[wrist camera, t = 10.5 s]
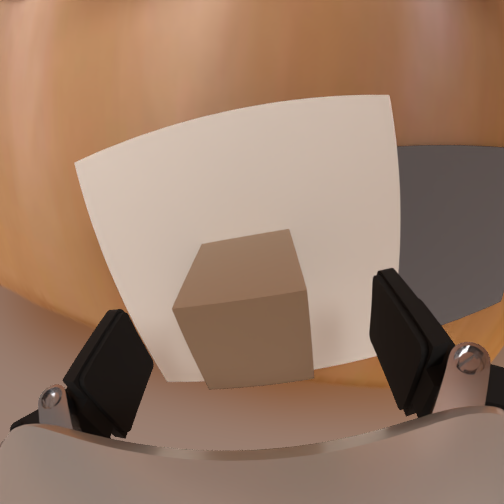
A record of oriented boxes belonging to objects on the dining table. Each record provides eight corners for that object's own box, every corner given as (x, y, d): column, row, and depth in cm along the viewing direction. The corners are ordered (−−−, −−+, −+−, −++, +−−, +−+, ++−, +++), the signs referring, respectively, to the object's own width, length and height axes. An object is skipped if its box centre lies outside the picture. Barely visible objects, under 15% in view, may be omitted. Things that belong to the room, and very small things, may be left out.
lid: (380, 96, 10) (459, 82, 5) (382, 343, 16) (413, 412, 11) (85, 160, 12) (2, 186, 6) (170, 371, 18) (149, 440, 12)
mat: (518, 148, 14) (522, 149, 14) (498, 299, 21) (500, 301, 20) (381, 147, 16) (384, 147, 15) (378, 340, 23) (380, 343, 22)
